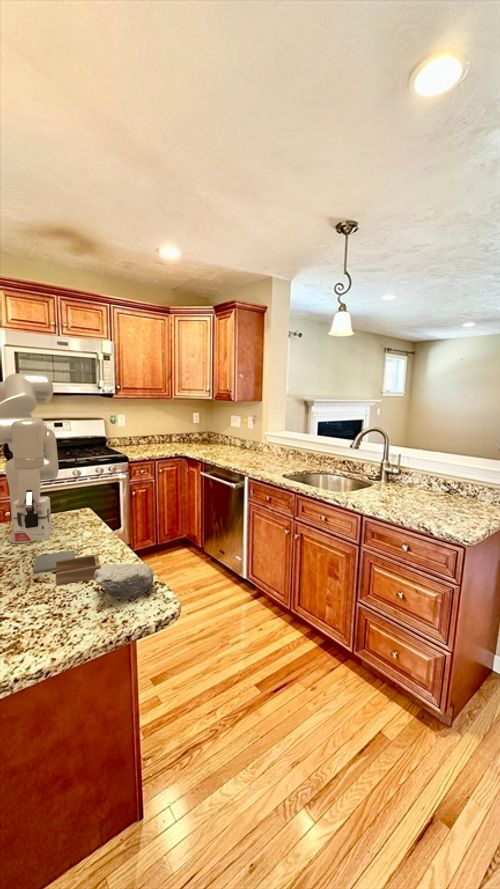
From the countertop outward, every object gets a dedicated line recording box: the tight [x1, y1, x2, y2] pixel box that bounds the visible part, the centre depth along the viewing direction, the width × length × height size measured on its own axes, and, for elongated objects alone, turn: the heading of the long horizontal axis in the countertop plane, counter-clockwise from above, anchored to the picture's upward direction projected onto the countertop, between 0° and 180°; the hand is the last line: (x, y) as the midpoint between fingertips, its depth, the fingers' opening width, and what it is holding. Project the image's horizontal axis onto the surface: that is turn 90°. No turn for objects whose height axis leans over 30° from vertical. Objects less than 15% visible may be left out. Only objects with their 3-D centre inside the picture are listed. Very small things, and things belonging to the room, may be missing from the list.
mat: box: [32, 549, 76, 575], centre depth 122 cm, size 12×12×1 cm
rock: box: [93, 563, 155, 600], centre depth 103 cm, size 11×17×10 cm, turn 127°
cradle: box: [55, 553, 102, 587], centre depth 114 cm, size 10×12×4 cm
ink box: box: [13, 495, 53, 542], centre depth 107 cm, size 8×5×12 cm, turn 104°
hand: (32, 522), depth 107 cm, fingers closed on ink box, 5 cm apart
